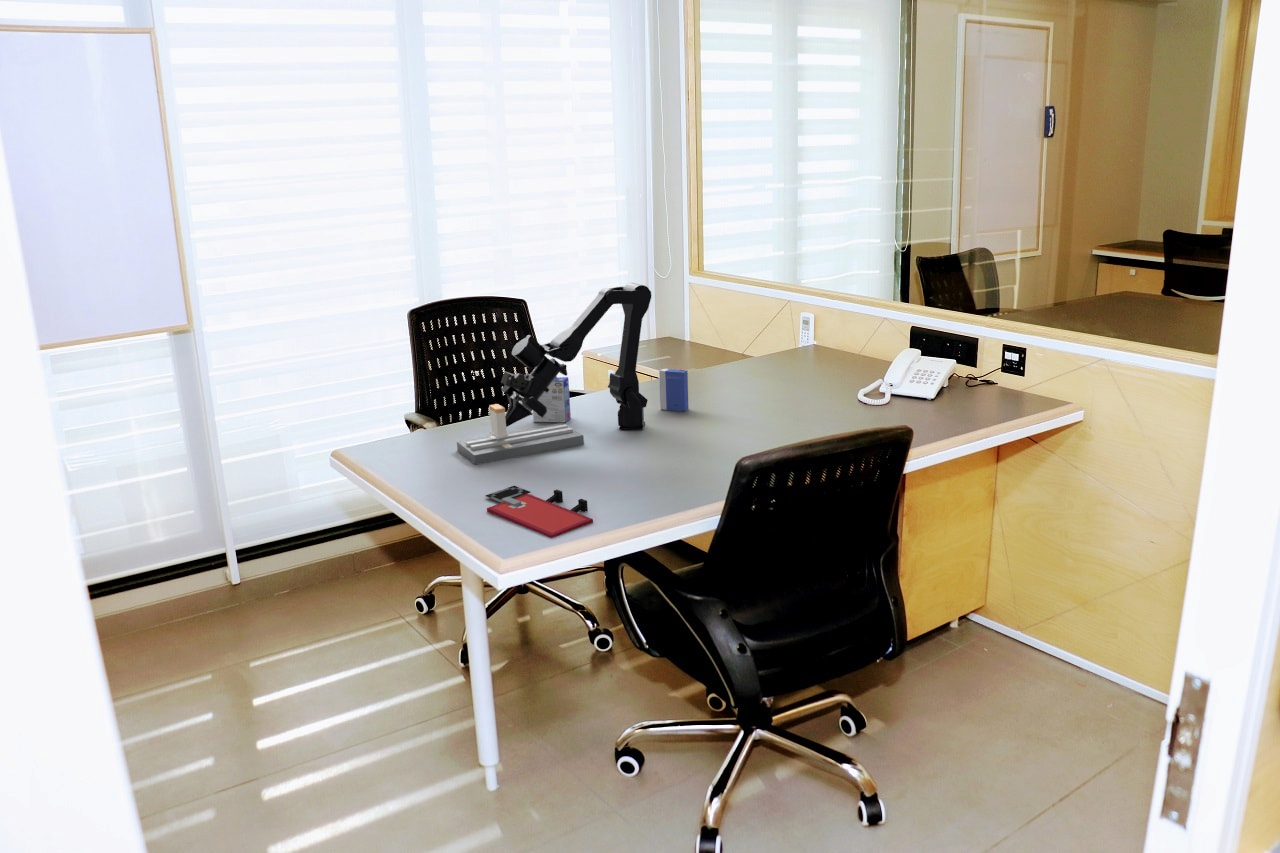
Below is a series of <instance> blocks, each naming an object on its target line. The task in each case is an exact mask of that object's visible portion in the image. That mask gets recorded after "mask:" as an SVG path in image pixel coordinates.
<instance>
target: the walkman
mask: <svg viewBox="0 0 1280 853" xmlns="http://www.w3.org/2000/svg"><path fill="white" fill-rule="evenodd" d="M658 372H659V402H660V403H659V404H660V410H661V409H663V410H665V411H674V412H684V411H685V412H687V411H688V410H689V409H690V408H689V381H688V380H689V379H688V378H689V376H688V375H689V374H688V370H687V369H684V368H679V369H671V368H663V369H660V370H659V371H658Z"/></svg>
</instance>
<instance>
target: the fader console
mask: <svg viewBox="0 0 1280 853" xmlns="http://www.w3.org/2000/svg"><path fill="white" fill-rule="evenodd" d="M507 434H508V437H504V438H502V440H498V441H497V438H496V437H494V436H493V435H492V434H491V435H487V436H479V437H476V438H469V439H463V440H457V441H456V448H457V452H459V454H462V455H463V456H464V457H465V458H466V459H467V460H469V461H470V462H471V463H472V464H474V465H481V464H482V465H483V464H487V463H491V462H496V461H503V460H508V459H513V457H514V458H517V457H524V456H529V454H530V455H534V453H535V454H538V453H539V452H540V453H545V452H550V450H551V451H555V450H561V449H565V448H572V447H576V446H582V445H584V444H585V440H584V439H585V438H584V435H583V434H582V433H580V432H579V431H577V430H575V429H573V428H572V427H571V426H570V427H569V426H568V425H567V424H565V423H564V422H558V423H555V424H554V423H553V424H549V425H544V426H538V427H532V428H525V429H520V430H514V431H508V432H507Z"/></svg>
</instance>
